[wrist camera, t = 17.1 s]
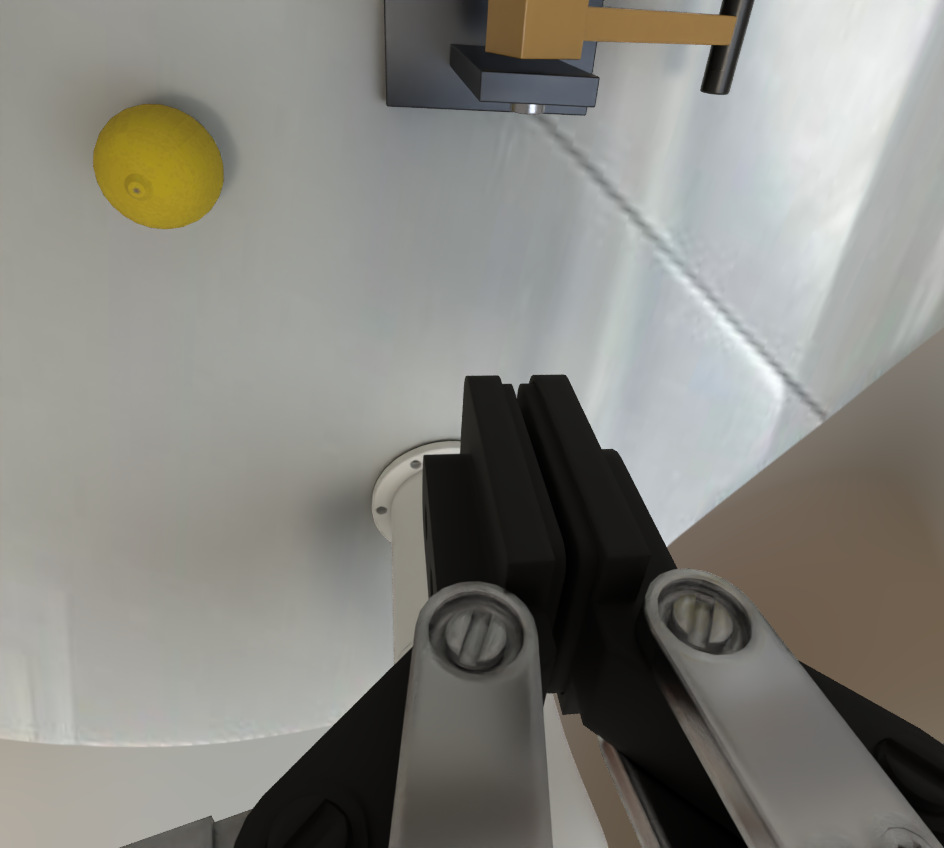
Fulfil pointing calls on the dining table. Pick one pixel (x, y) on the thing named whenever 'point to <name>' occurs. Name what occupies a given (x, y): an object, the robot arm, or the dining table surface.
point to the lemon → (158, 166)
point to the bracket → (475, 64)
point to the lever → (616, 31)
